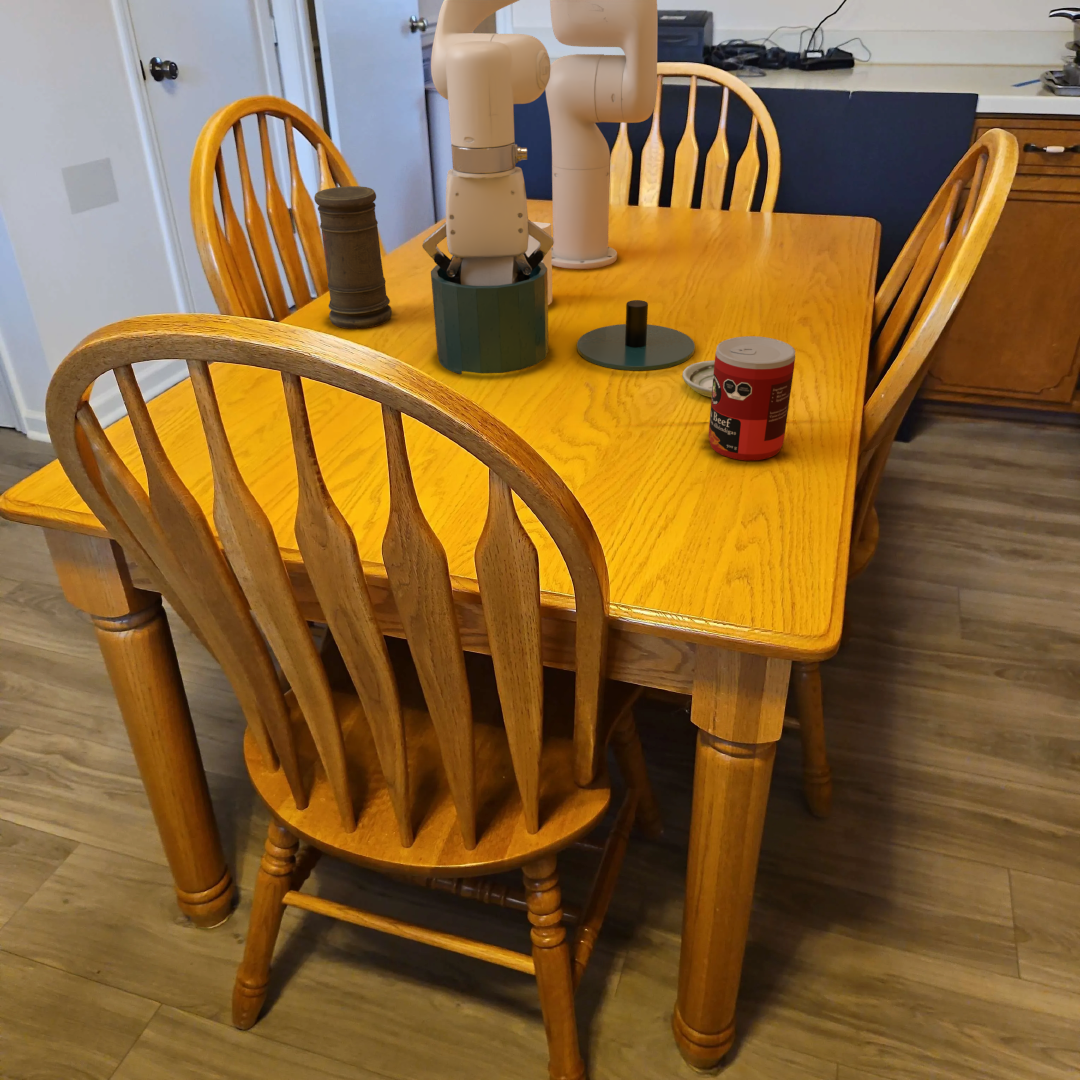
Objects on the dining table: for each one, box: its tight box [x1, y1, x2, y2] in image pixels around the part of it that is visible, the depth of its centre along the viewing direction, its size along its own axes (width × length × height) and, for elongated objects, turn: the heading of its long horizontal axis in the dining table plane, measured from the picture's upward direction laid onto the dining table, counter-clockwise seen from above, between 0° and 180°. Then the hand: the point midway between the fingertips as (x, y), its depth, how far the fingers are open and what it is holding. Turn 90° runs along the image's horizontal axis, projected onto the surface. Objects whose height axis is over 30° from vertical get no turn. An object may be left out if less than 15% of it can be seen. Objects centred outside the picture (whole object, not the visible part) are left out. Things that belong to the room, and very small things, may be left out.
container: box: [313, 185, 393, 329], centre depth 132 cm, size 9×9×18 cm
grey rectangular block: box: [461, 256, 519, 286], centre depth 119 cm, size 4×7×10 cm, turn 76°
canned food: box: [708, 335, 796, 462], centre depth 97 cm, size 8×8×11 cm
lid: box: [576, 299, 696, 372], centre depth 122 cm, size 16×16×7 cm
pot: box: [430, 262, 550, 375], centre depth 121 cm, size 15×15×12 cm
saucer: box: [681, 359, 715, 399], centre depth 111 cm, size 10×10×2 cm
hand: (491, 302), depth 120 cm, fingers closed on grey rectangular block, 7 cm apart
